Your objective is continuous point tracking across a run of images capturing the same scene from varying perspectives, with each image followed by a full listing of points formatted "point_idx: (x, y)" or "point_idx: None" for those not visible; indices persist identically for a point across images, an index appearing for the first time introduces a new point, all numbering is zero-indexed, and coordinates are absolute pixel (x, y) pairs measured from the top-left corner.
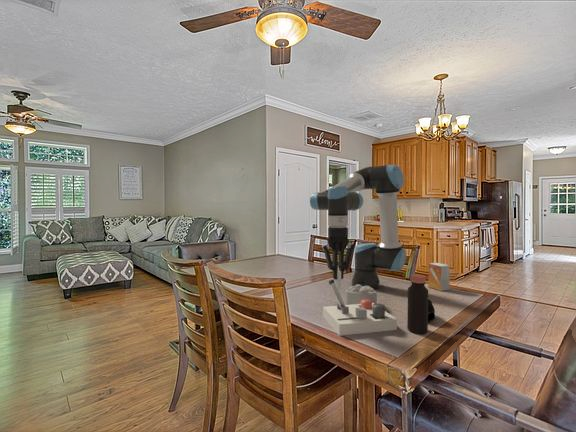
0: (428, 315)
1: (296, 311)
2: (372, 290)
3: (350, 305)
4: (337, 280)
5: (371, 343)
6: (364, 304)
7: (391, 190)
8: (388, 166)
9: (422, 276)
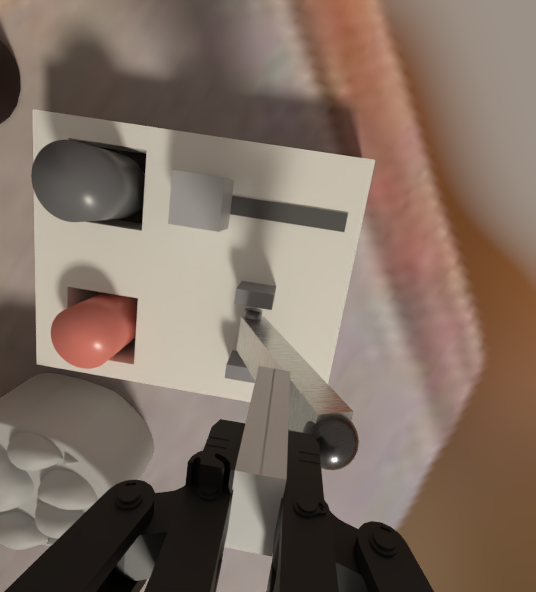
0: None
1: (403, 484)
2: None
3: (171, 376)
4: (288, 415)
5: (266, 31)
6: (112, 317)
7: None
8: None
9: None
